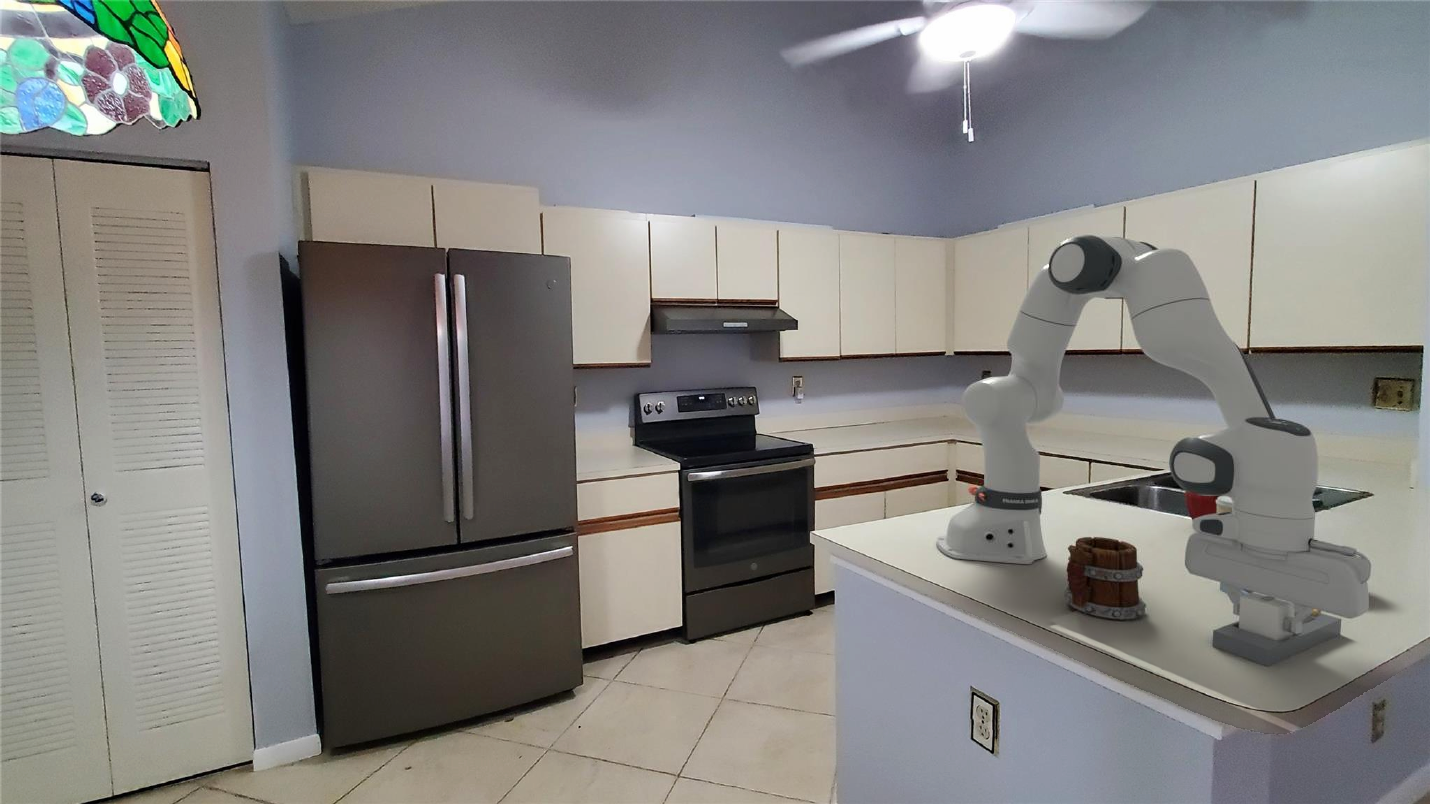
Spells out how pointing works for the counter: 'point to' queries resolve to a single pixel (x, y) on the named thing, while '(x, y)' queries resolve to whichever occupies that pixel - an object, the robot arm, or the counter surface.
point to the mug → (1104, 579)
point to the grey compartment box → (1272, 651)
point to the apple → (1200, 504)
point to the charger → (1265, 615)
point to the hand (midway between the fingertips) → (1266, 623)
